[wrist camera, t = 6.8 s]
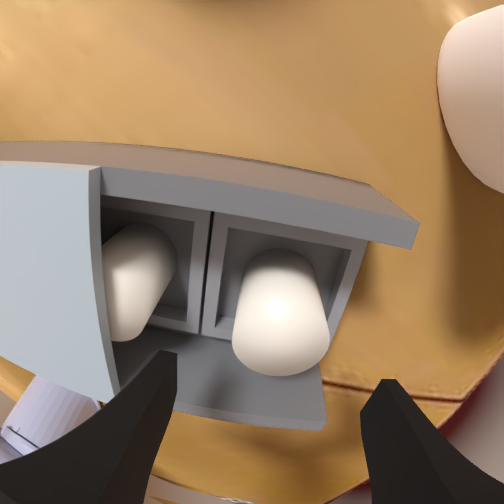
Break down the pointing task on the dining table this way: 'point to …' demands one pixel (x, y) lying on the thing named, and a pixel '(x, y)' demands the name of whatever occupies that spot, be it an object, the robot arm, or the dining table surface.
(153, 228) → the white rounded tapered block
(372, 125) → the dining table surface
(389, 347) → the dining table surface
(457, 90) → the white cylinder
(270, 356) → the white rounded cylinder
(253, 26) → the dining table surface
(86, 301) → the lid
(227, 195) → the housing
